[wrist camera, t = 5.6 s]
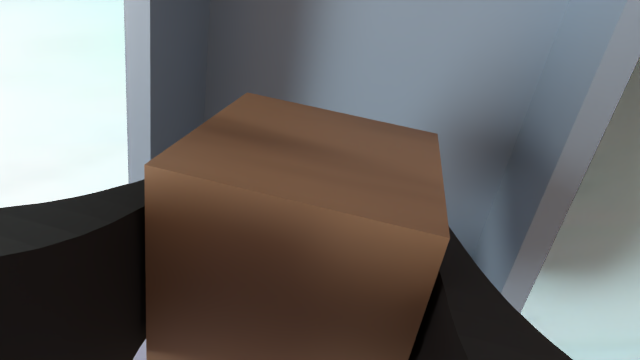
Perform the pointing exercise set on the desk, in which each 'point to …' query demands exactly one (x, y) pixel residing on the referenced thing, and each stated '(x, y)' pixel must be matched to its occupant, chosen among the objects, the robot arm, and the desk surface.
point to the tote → (408, 93)
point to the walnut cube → (292, 236)
